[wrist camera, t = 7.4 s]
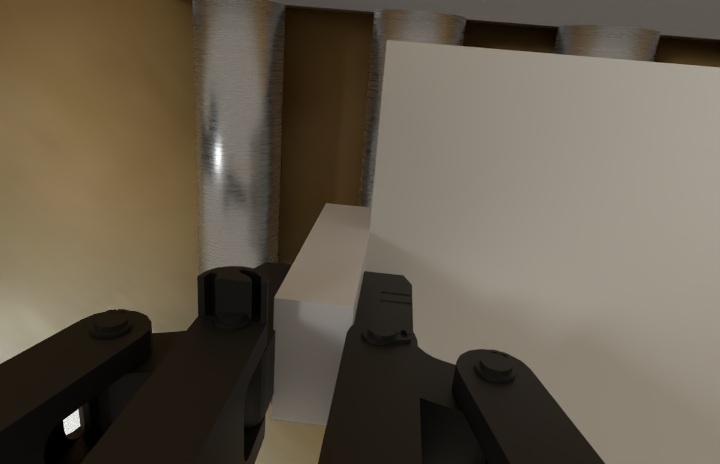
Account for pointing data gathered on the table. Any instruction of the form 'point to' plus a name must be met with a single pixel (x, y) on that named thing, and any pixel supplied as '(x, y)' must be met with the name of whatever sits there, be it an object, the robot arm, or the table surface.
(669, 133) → the slab
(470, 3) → the roller bed
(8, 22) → the table surface
